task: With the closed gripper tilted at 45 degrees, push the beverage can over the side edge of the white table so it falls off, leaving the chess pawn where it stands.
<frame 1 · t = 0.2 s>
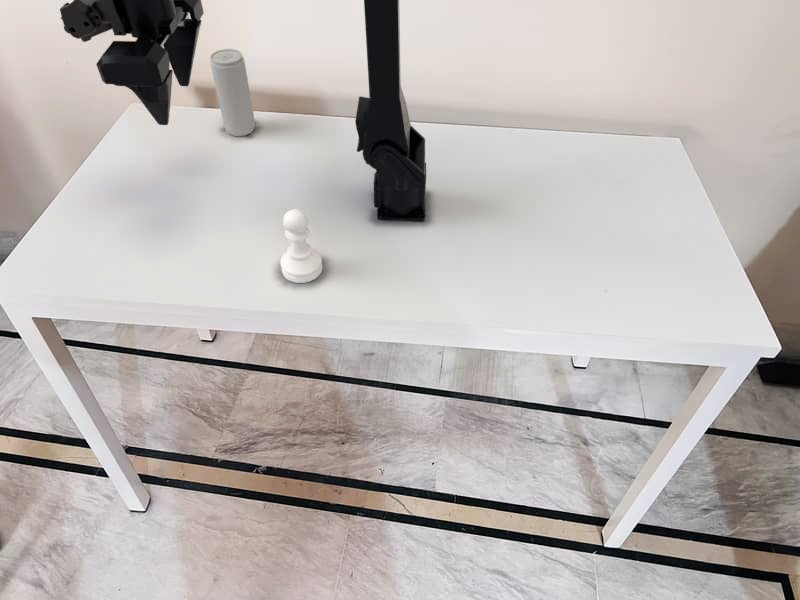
hand: (174, 104, 74), 14 cm above the table, tool pointing down, fingers open, 9 cm apart
chess pawn: (302, 270, 75), on the table
beverage can: (241, 130, 97), on the table
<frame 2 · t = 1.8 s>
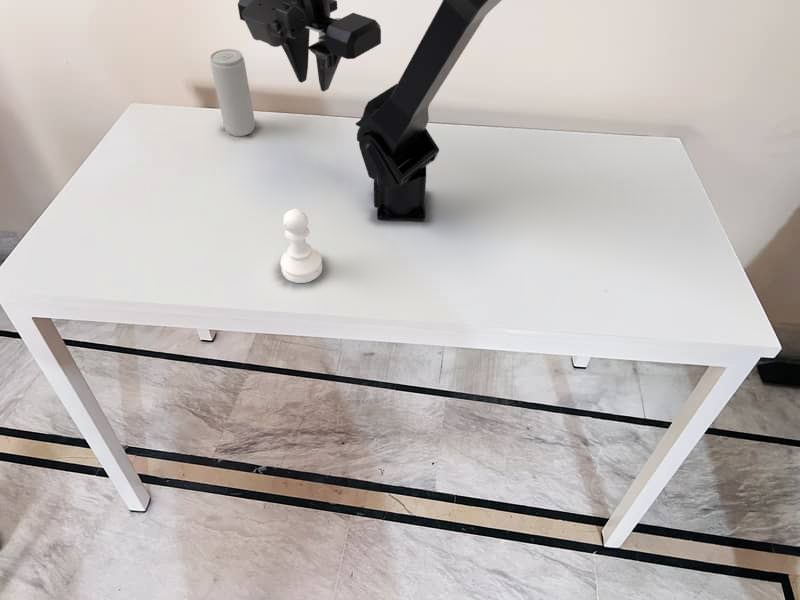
hand: (313, 85, 80), 13 cm above the table, tool pointing down, fingers open, 4 cm apart
nothing on the table moved.
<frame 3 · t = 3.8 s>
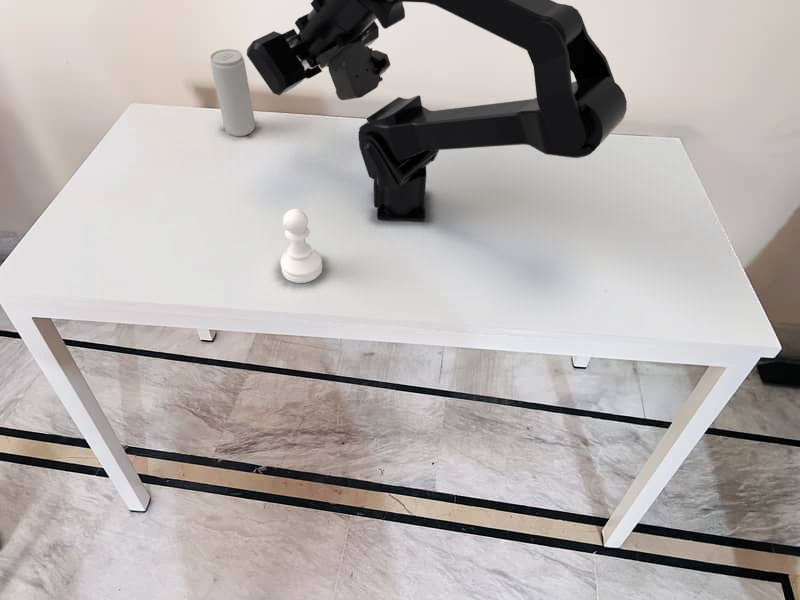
hand: (288, 73, 82), 13 cm above the table, tool tilted 45°, fingers closed
nothing on the table moved.
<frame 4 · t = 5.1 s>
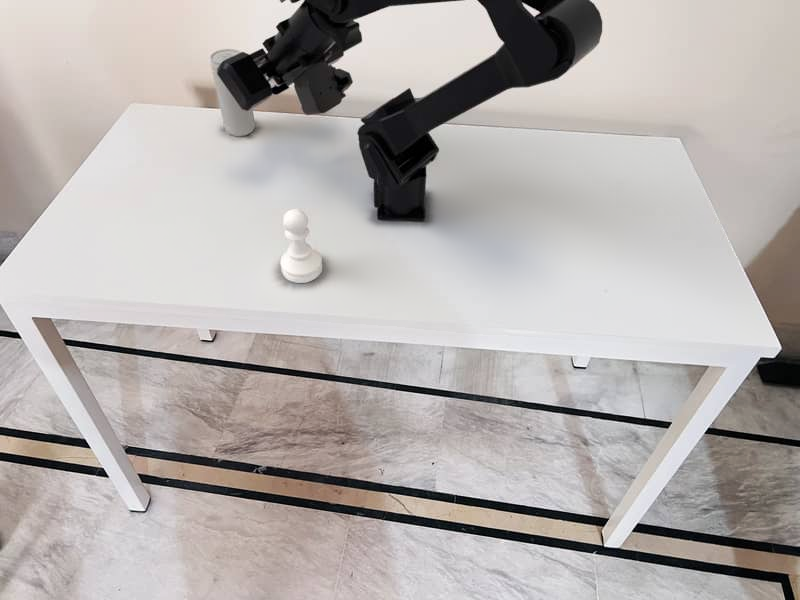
hand: (259, 88, 87), 9 cm above the table, tool tilted 45°, fingers closed
nothing on the table moved.
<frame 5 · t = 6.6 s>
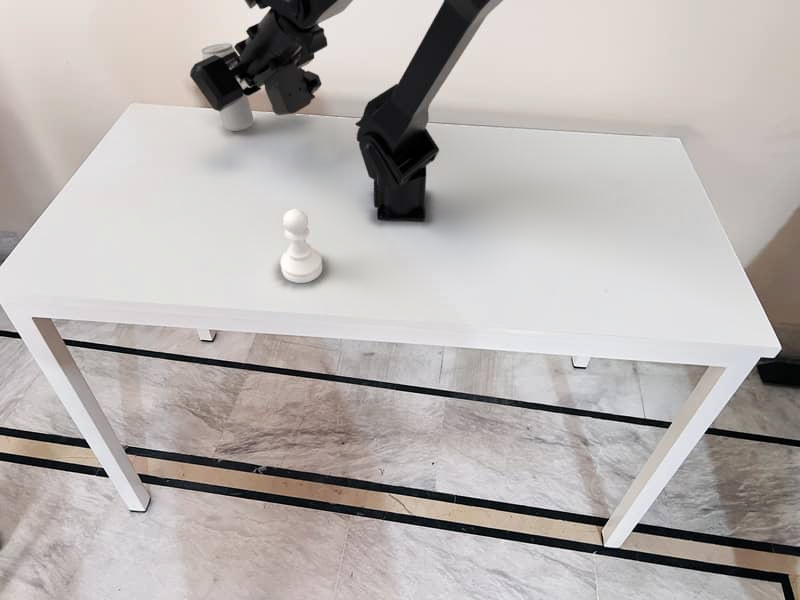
hand: (234, 89, 91), 7 cm above the table, tool tilted 45°, fingers closed, pressing on beverage can
beverage can: (240, 127, 96), on the table, touching gripper
everything else where it was.
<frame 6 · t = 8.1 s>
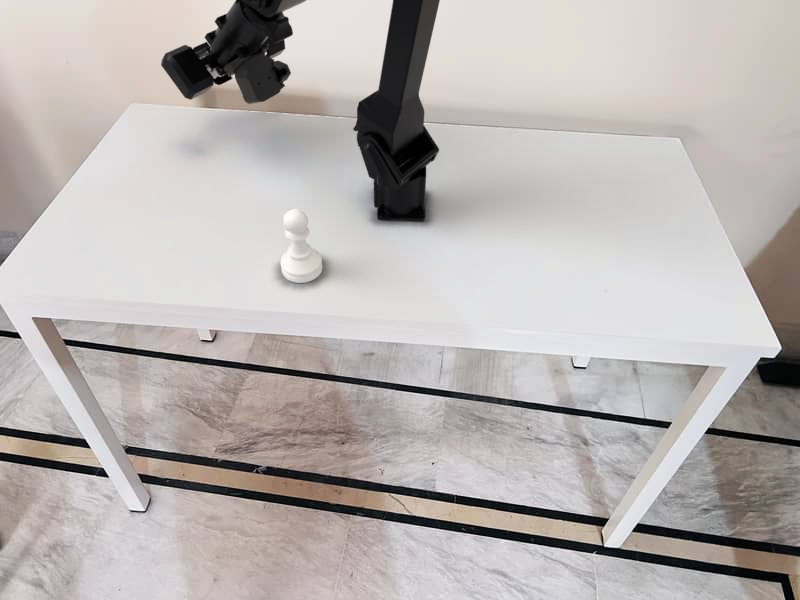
hand: (207, 80, 94), 7 cm above the table, tool tilted 45°, fingers closed
beverage can: (308, 268, 150), on the floor
everything else where it was.
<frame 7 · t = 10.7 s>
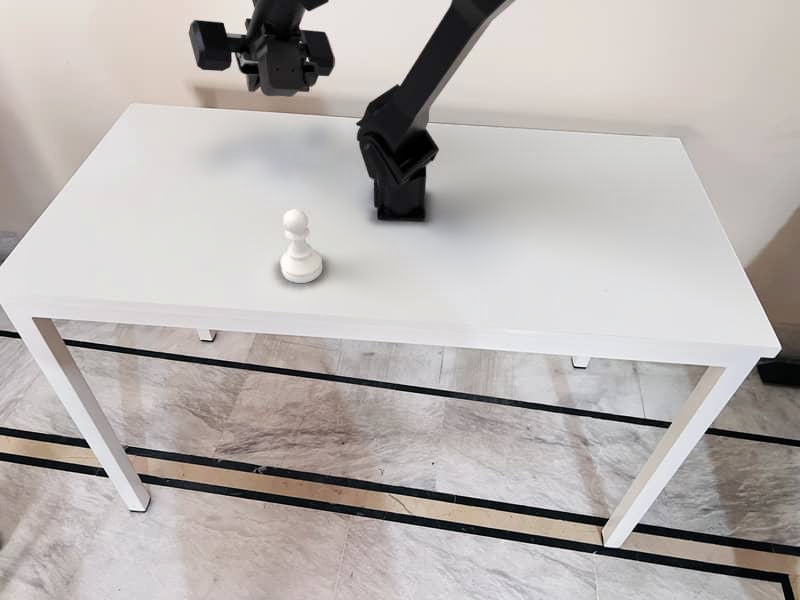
hand: (250, 89, 88), 9 cm above the table, tool tilted 30°, fingers closed
nothing on the table moved.
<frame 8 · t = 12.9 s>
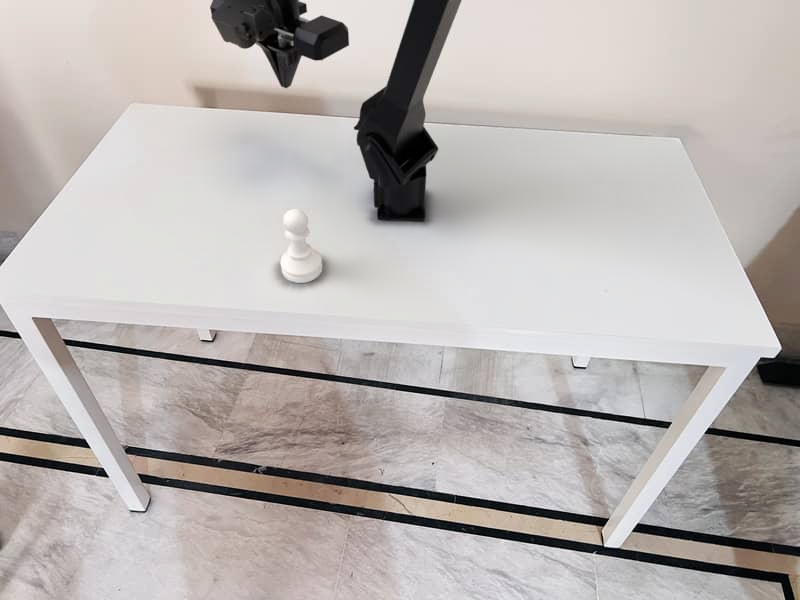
hand: (286, 86, 82), 12 cm above the table, tool pointing down, fingers closed
nothing on the table moved.
at the end: beverage can on the floor; chess pawn moved 0.2 cm from its start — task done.
